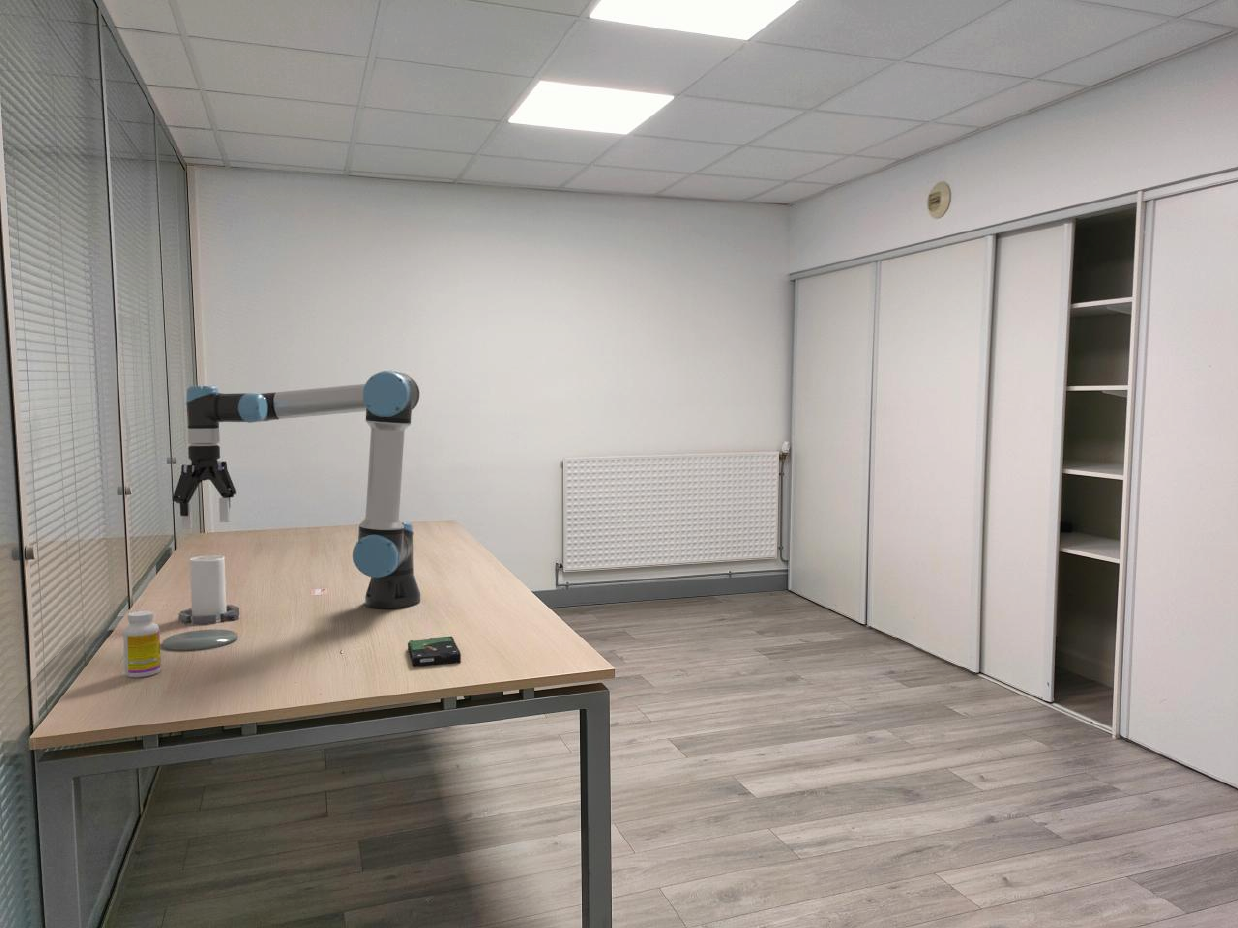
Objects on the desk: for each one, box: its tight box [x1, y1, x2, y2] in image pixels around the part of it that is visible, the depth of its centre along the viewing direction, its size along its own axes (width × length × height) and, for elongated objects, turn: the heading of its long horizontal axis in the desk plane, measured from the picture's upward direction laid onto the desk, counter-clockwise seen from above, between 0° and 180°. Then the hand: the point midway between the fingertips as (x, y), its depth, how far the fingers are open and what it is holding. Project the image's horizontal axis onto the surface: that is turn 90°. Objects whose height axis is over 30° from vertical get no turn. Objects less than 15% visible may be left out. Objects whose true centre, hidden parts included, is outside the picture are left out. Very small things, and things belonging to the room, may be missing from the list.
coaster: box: [161, 629, 238, 652], centre depth 209 cm, size 16×16×1 cm
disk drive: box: [407, 636, 462, 668], centre depth 197 cm, size 10×3×15 cm
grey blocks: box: [178, 604, 240, 626], centre depth 231 cm, size 17×14×2 cm
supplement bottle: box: [122, 610, 162, 679], centre depth 184 cm, size 7×7×13 cm
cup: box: [189, 554, 227, 621], centre depth 231 cm, size 8×8×16 cm
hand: (206, 525), depth 233 cm, fingers open, 13 cm apart
